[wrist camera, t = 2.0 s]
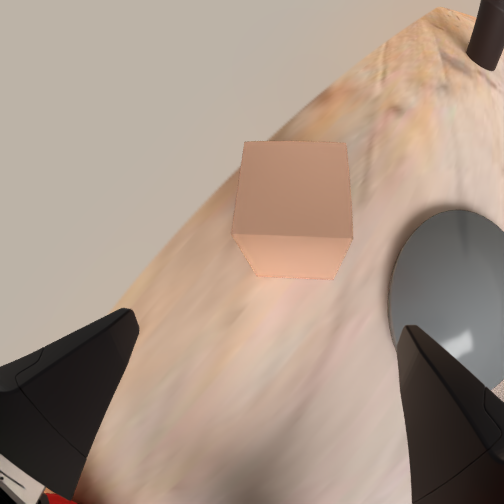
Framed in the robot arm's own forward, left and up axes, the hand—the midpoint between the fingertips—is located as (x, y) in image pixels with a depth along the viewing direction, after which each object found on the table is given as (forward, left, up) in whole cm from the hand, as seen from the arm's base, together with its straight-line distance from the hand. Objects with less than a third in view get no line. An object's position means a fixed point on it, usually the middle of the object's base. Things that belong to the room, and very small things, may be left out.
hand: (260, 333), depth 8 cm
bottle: (-22, -57, -14) cm, 63 cm away
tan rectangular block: (+2, -8, -13) cm, 16 cm away
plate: (-15, -8, -13) cm, 22 cm away
